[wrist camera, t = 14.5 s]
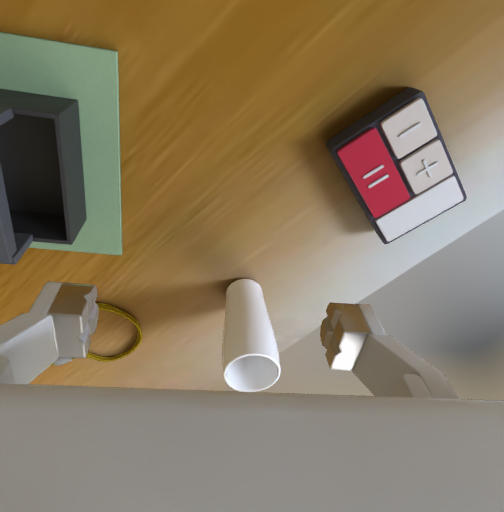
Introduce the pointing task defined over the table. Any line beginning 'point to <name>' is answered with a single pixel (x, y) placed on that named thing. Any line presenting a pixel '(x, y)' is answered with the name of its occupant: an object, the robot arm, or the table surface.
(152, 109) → the table surface
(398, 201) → the calculator
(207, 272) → the table surface
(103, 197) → the desk mat
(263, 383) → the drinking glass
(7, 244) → the caddy bin
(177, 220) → the table surface
